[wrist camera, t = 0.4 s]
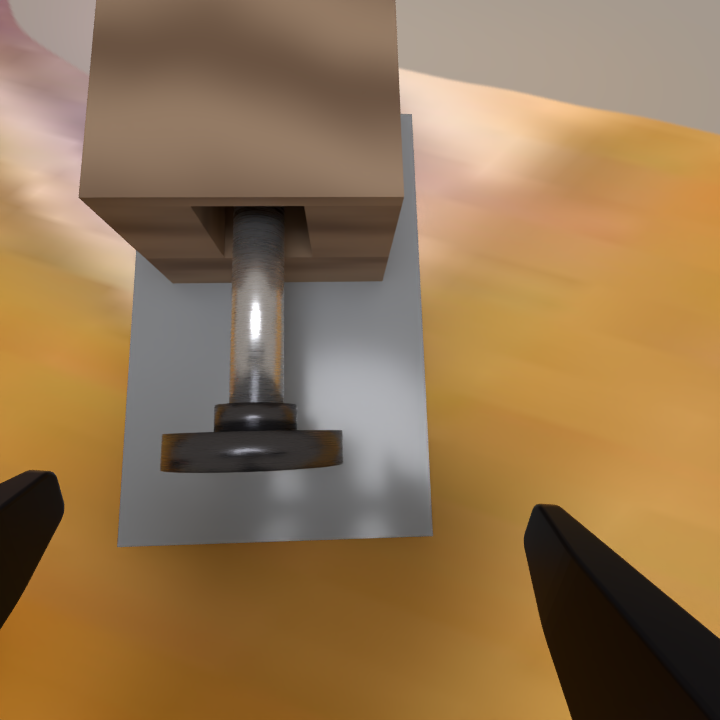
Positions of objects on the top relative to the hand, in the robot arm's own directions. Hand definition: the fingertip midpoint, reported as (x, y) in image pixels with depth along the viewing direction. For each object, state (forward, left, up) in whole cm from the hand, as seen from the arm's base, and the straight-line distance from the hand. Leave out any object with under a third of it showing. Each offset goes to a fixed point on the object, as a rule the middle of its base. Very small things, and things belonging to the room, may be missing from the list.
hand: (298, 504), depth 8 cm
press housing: (+14, -3, -14) cm, 20 cm away
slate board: (+8, 0, -15) cm, 17 cm away
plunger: (+6, 0, -11) cm, 13 cm away
